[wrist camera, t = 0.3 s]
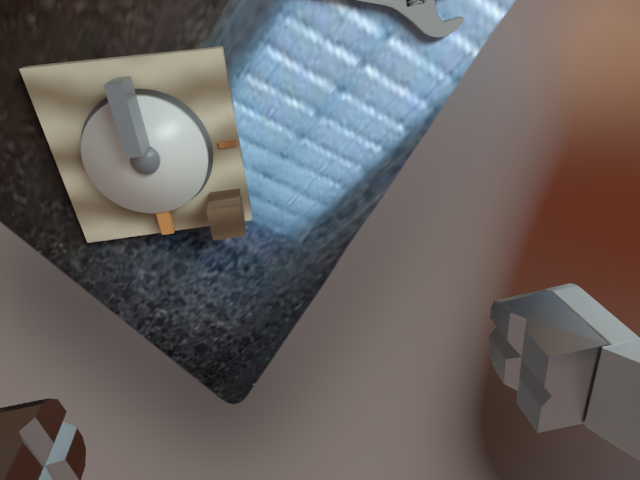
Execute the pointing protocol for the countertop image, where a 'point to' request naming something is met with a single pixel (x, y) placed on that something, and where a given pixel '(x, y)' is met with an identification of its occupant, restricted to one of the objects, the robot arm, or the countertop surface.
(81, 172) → the panel
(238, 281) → the countertop surface
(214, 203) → the block
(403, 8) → the adjustable wrench
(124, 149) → the dial
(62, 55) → the countertop surface
